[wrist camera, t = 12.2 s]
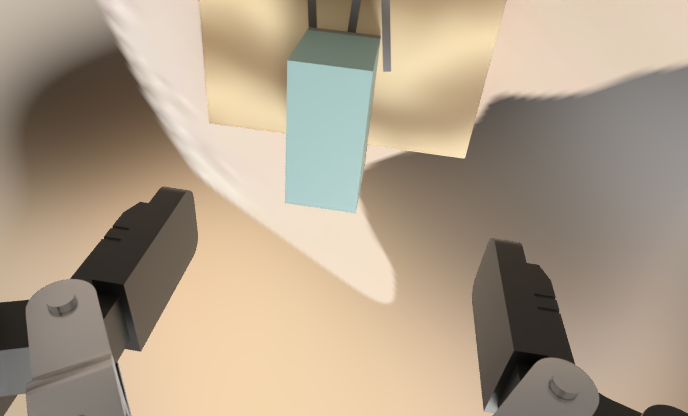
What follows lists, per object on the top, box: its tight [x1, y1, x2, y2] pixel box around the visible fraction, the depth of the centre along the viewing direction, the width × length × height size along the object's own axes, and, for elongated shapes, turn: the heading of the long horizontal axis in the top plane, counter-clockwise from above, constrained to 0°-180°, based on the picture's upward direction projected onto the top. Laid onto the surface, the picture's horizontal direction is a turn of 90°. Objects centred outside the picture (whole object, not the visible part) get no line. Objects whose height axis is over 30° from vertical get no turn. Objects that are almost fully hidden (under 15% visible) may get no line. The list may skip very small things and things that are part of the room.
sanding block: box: [285, 27, 381, 213], centre depth 30 cm, size 9×4×6 cm, turn 175°
